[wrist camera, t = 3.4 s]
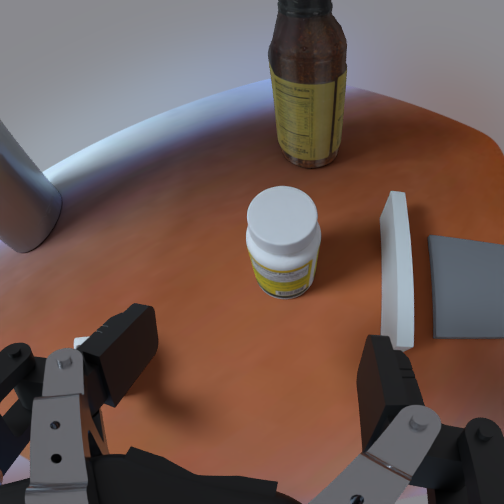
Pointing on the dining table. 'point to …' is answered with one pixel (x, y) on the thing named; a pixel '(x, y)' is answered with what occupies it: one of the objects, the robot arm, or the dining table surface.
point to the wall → (397, 273)
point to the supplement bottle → (283, 241)
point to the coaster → (467, 288)
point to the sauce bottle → (308, 81)
